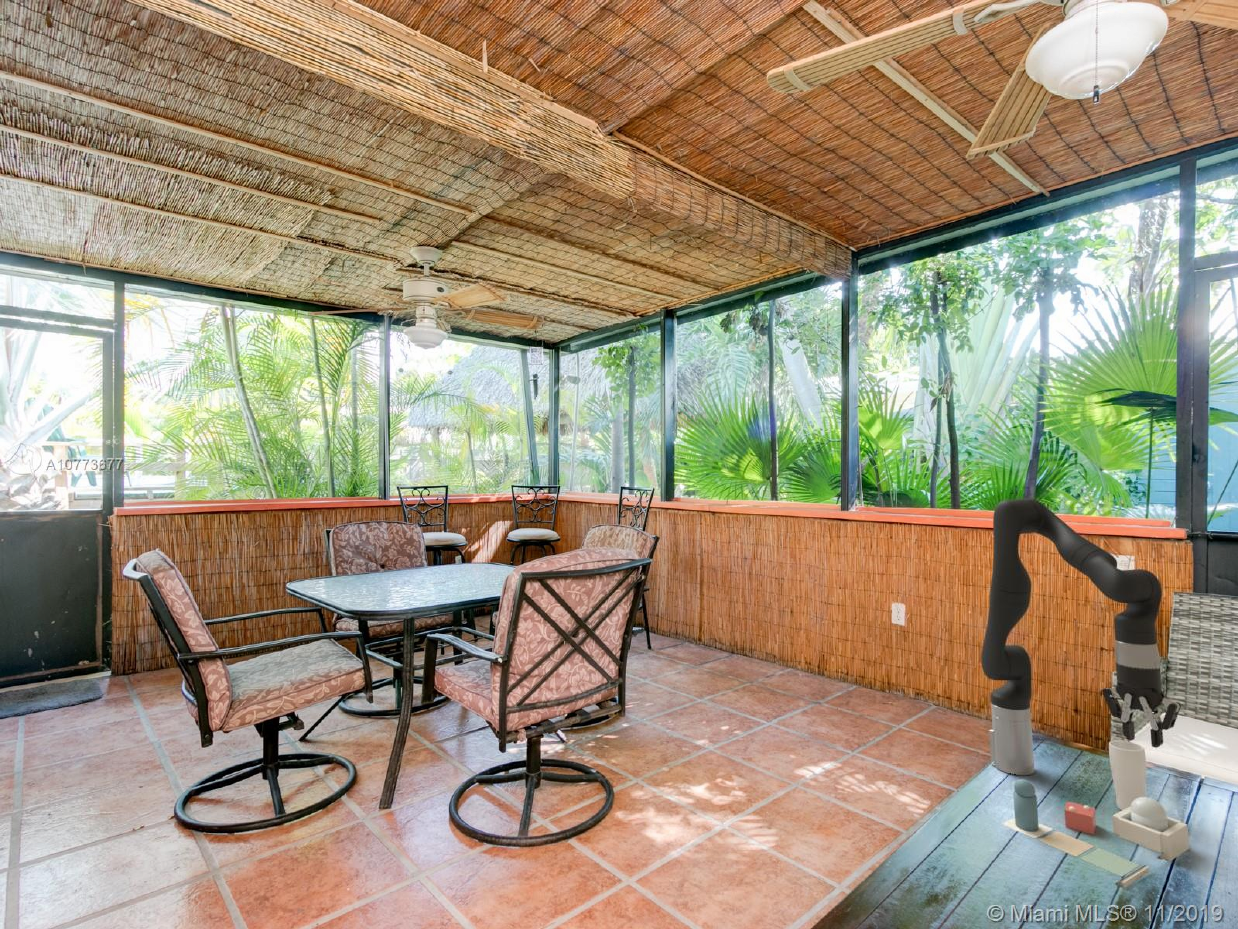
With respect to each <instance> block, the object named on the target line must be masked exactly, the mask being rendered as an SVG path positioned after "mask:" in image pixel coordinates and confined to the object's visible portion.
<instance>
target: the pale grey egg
mask: <svg viewBox="0 0 1238 929" xmlns="http://www.w3.org/2000/svg"><path fill="white" fill-rule="evenodd" d="M1167 816H1168V813H1167V811H1166V810H1165V808H1164V806H1163V805H1162V804H1161V803H1159V802H1158V801H1157V800H1156V799H1153V798H1150V797H1147V796H1145V797H1139V798H1136V799H1135V800H1134V801H1133V802H1132V804H1131V821H1132V822H1135V823H1137V824H1140V825H1143V826H1146V827H1148V828H1151V829H1154V830H1156V831H1159V832H1164V831H1166V830H1167V829H1168V822H1167Z"/></svg>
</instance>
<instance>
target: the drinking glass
mask: <svg viewBox="0 0 1238 929" xmlns="http://www.w3.org/2000/svg"><path fill="white" fill-rule="evenodd" d="M1108 754H1109V763H1110V764H1109V765H1110V769H1111V775H1112V781H1113V787H1114V791H1115V792H1114V793H1115V797H1116V799H1115V800H1116V806H1117V807H1118V809H1119V810H1120V811H1122V810H1124V809H1126V808H1128V807H1130V806H1131V804H1132V802H1133V801H1134V800H1135V799H1136V798H1139V797H1146V792H1147V790H1146V789H1147V788H1146V786H1147V785H1146V784H1147V759H1146V758H1147V757H1146V751H1145V747H1144V746H1142V745H1140V744H1138V743H1136V742H1131V741H1129V740H1120V739H1119V740H1118V739H1117V740H1116V739H1115V740H1110V741H1108Z"/></svg>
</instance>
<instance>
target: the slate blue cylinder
mask: <svg viewBox="0 0 1238 929" xmlns="http://www.w3.org/2000/svg"><path fill="white" fill-rule="evenodd" d="M1013 788H1014V790H1013V806H1014V807H1013V809H1014V818H1015V825H1016V826H1017V827H1018V828H1020V829H1022V830H1025V831H1030V832H1035V831H1038V830H1039V825H1038V823H1039V813H1038V811H1039V810H1038V798H1037V794H1036V788H1035V786H1034V785H1033V783H1032V782H1031V781H1029V780H1027V779H1025V778H1020V779H1017V780H1016V781H1015V782H1014V784H1013Z"/></svg>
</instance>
